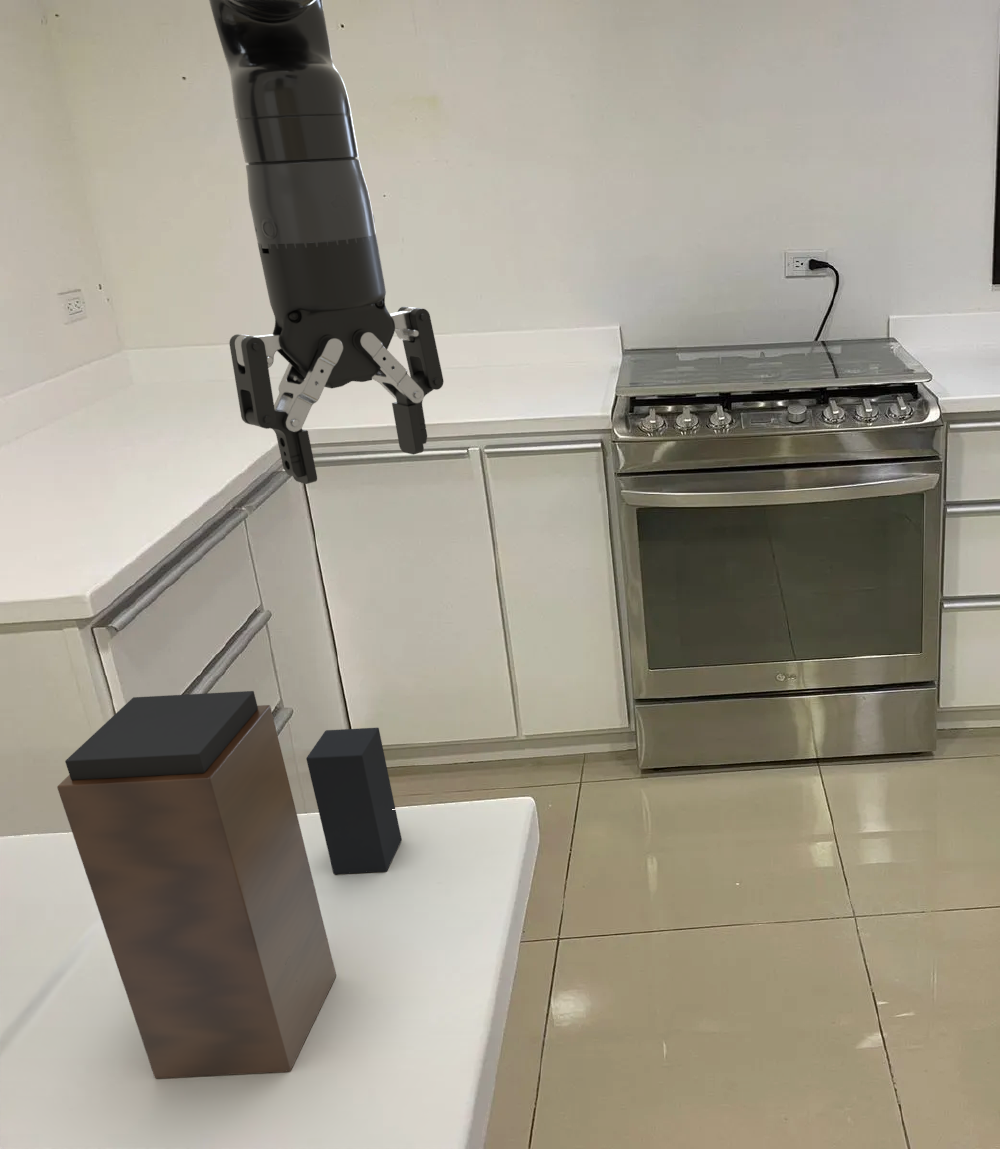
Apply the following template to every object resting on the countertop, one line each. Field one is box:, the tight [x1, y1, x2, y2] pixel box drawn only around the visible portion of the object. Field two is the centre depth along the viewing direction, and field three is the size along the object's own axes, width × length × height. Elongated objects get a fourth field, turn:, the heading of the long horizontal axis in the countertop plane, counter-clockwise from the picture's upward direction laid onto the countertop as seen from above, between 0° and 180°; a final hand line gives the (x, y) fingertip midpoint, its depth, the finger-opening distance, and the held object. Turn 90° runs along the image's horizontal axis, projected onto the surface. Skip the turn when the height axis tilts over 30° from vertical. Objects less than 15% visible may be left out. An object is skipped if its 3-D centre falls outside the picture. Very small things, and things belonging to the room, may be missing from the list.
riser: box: [56, 704, 337, 1079], centre depth 65 cm, size 8×8×20 cm
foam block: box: [305, 727, 403, 875], centre depth 83 cm, size 4×4×10 cm
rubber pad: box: [64, 690, 259, 780], centre depth 61 cm, size 7×7×1 cm
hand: (360, 466), depth 81 cm, fingers open, 8 cm apart
